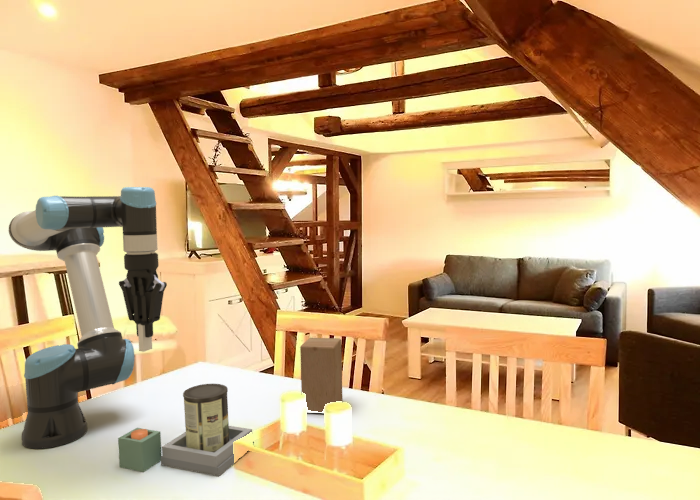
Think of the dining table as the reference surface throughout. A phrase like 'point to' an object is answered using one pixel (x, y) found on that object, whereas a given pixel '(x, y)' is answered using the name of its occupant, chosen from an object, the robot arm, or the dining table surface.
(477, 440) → the dining table surface
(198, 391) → the coffee can
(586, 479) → the dining table surface
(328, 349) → the wooden block
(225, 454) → the tray
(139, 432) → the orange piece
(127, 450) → the green egg cup
